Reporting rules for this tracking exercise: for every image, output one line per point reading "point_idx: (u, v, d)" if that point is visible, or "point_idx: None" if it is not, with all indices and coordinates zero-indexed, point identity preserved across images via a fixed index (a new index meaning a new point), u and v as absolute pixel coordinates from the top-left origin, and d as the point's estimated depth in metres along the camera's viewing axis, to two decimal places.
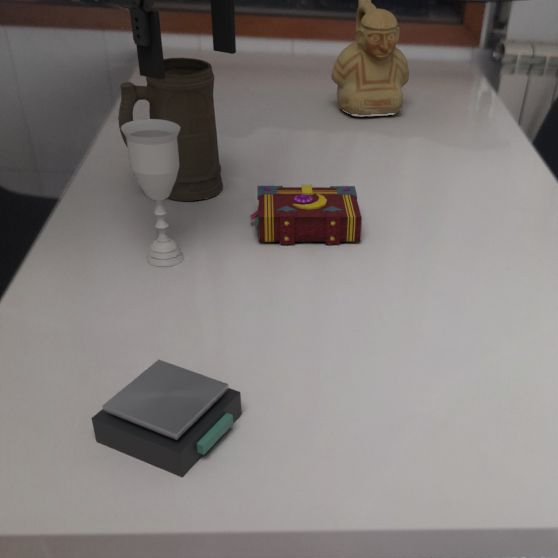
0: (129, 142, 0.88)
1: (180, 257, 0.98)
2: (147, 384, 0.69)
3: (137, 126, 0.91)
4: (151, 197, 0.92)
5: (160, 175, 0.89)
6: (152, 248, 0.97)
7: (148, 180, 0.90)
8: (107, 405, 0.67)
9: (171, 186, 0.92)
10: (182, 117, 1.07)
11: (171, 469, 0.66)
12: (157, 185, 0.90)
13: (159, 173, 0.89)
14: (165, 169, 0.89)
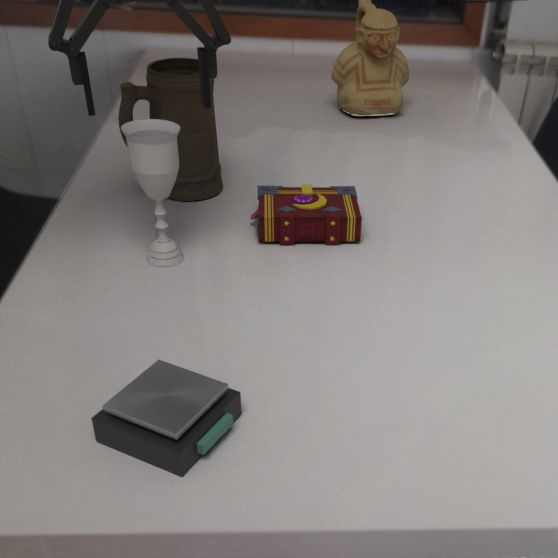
0: (129, 142, 0.88)
1: (180, 257, 0.98)
2: (147, 384, 0.69)
3: (137, 126, 0.91)
4: (151, 197, 0.92)
5: (160, 175, 0.89)
6: (152, 248, 0.97)
7: (148, 180, 0.90)
8: (107, 405, 0.67)
9: (171, 186, 0.92)
10: (182, 117, 1.07)
11: (171, 469, 0.66)
12: (157, 185, 0.90)
13: (159, 173, 0.89)
14: (165, 169, 0.89)
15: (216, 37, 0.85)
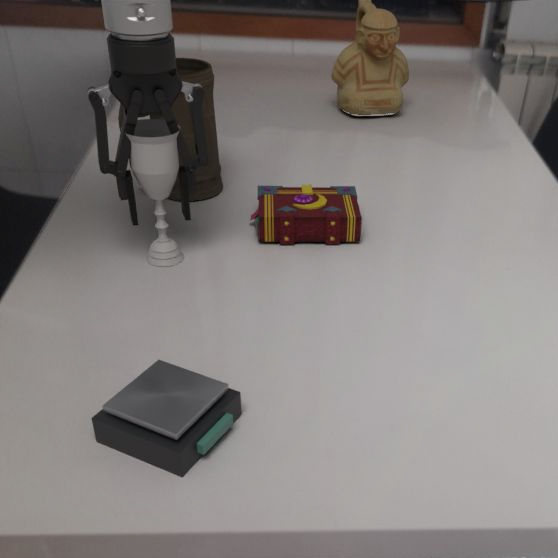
0: None
1: (180, 257, 0.98)
2: (147, 384, 0.69)
3: (137, 126, 0.91)
4: (151, 197, 0.92)
5: (160, 175, 0.89)
6: (152, 248, 0.97)
7: (148, 180, 0.90)
8: (107, 405, 0.67)
9: (171, 186, 0.92)
10: (182, 117, 1.07)
11: (171, 469, 0.66)
12: (157, 185, 0.90)
13: (159, 173, 0.89)
14: (165, 169, 0.89)
15: (195, 159, 0.92)
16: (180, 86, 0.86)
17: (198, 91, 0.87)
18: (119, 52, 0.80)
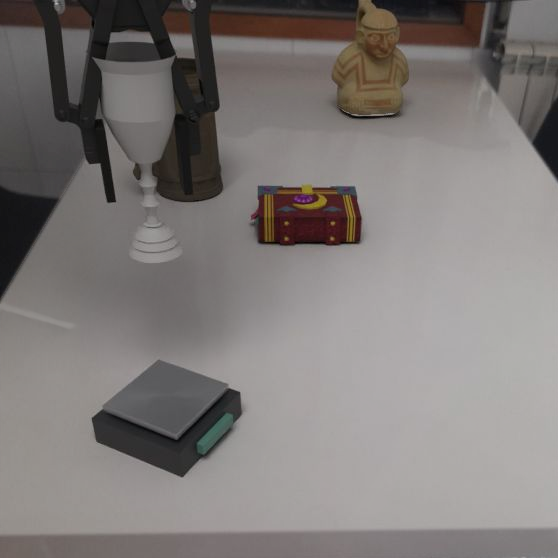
0: None
1: (178, 249, 0.68)
2: (147, 384, 0.69)
3: (112, 51, 0.60)
4: (134, 159, 0.62)
5: (147, 124, 0.59)
6: (137, 236, 0.67)
7: (129, 132, 0.59)
8: (107, 405, 0.67)
9: (164, 142, 0.62)
10: None
11: (171, 469, 0.66)
12: (143, 140, 0.60)
13: (146, 120, 0.59)
14: (155, 115, 0.59)
15: (199, 102, 0.62)
16: None
17: None
18: None
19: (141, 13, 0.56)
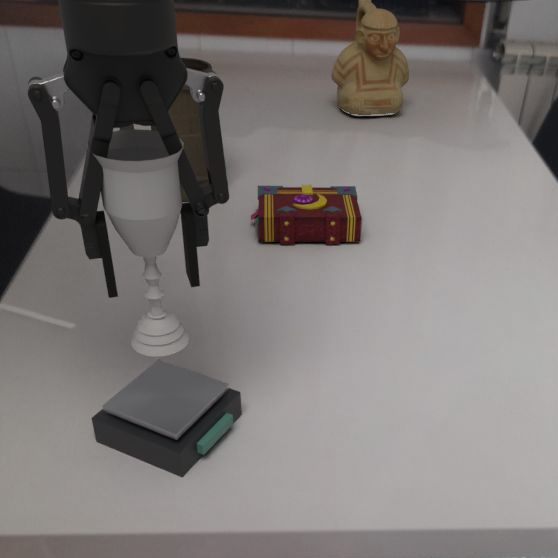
0: None
1: (183, 340, 0.64)
2: (147, 384, 0.69)
3: (115, 141, 0.56)
4: (137, 253, 0.58)
5: (151, 221, 0.55)
6: (140, 328, 0.63)
7: (132, 228, 0.56)
8: (107, 405, 0.67)
9: (169, 236, 0.58)
10: (182, 117, 1.07)
11: (171, 469, 0.66)
12: (147, 236, 0.56)
13: (150, 217, 0.55)
14: (160, 211, 0.55)
15: (207, 193, 0.58)
16: (184, 76, 0.52)
17: (213, 84, 0.53)
18: (78, 15, 0.46)
19: (146, 107, 0.52)
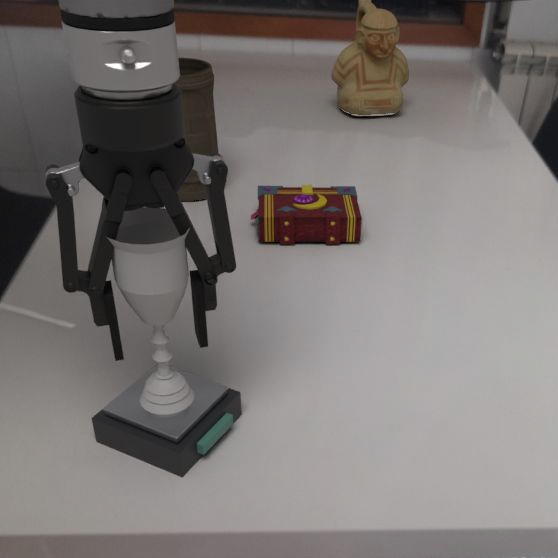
0: None
1: (189, 398, 0.68)
2: None
3: (126, 219, 0.60)
4: (146, 322, 0.62)
5: (160, 295, 0.59)
6: (148, 388, 0.67)
7: (142, 302, 0.59)
8: (107, 408, 0.67)
9: (176, 306, 0.62)
10: None
11: (171, 469, 0.66)
12: (155, 308, 0.60)
13: (159, 292, 0.59)
14: (168, 286, 0.59)
15: (216, 263, 0.62)
16: (191, 163, 0.56)
17: (218, 169, 0.56)
18: (94, 117, 0.50)
19: (155, 192, 0.56)
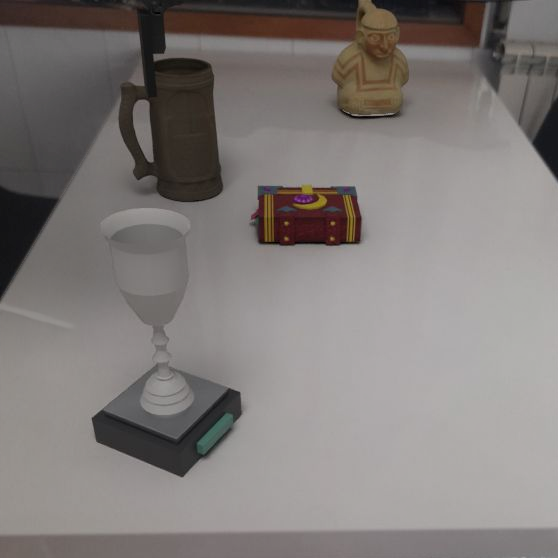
0: (113, 249, 0.57)
1: (189, 398, 0.68)
2: None
3: (126, 219, 0.60)
4: (147, 323, 0.62)
5: (160, 295, 0.59)
6: (148, 388, 0.67)
7: (142, 302, 0.59)
8: (108, 408, 0.67)
9: (176, 307, 0.62)
10: (182, 117, 1.07)
11: (171, 469, 0.66)
12: (155, 309, 0.60)
13: (159, 293, 0.59)
14: (168, 287, 0.59)
15: None
16: None
17: None
18: None
19: None
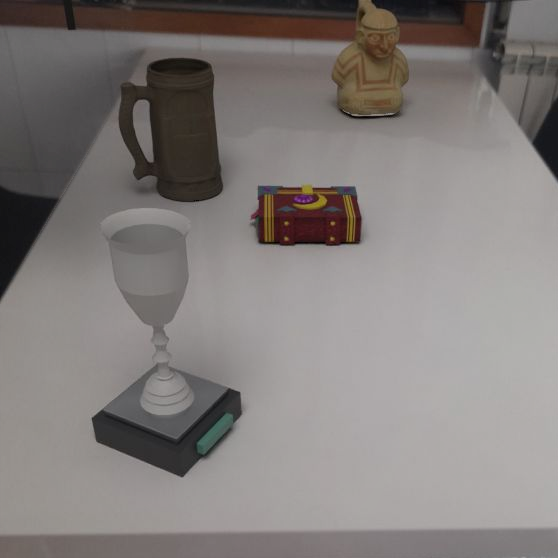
0: (113, 249, 0.57)
1: (189, 398, 0.68)
2: None
3: (126, 219, 0.60)
4: (147, 323, 0.62)
5: (160, 295, 0.59)
6: (148, 388, 0.67)
7: (142, 302, 0.59)
8: (108, 408, 0.67)
9: (176, 307, 0.62)
10: (182, 117, 1.07)
11: (171, 469, 0.66)
12: (155, 309, 0.60)
13: (159, 293, 0.59)
14: (168, 287, 0.59)
15: None
16: None
17: None
18: None
19: None
